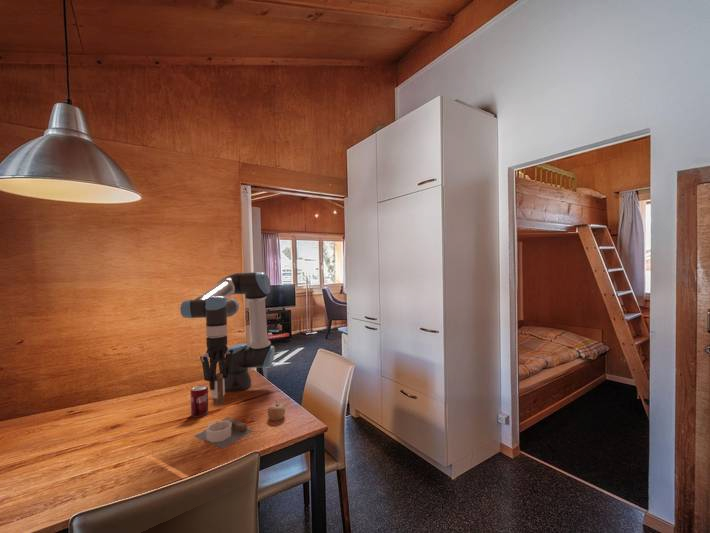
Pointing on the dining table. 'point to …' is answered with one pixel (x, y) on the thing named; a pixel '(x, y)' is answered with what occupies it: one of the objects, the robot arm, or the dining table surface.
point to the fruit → (276, 412)
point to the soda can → (199, 401)
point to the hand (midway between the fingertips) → (218, 395)
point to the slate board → (226, 442)
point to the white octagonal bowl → (219, 431)
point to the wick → (237, 425)
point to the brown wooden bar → (219, 390)
